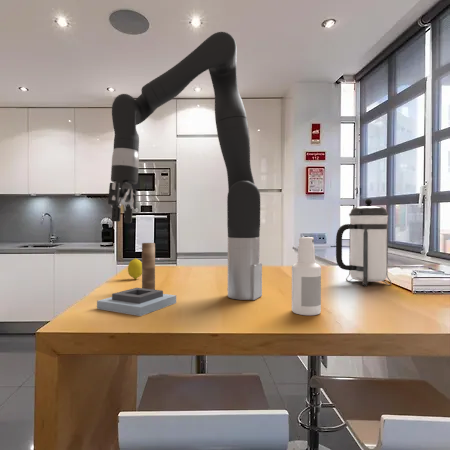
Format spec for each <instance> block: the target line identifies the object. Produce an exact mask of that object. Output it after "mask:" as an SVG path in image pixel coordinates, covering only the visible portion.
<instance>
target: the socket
mask: <svg viewBox="0 0 450 450" xmlns="http://www.w3.org/2000/svg"><path fill="white" fill-rule="evenodd" d="M176 303H177V295H175V294H170V293H169V294H168V293H164V291H163V290H160V289H159V290H158V289H155V290H153V289H144V288H142V287H133V288H130V289H125V290H122V291H119V292H115V293H111V296H110V297H106V298H104V299H99V300H97V301H96V309H97V310H102V311H108V312H113V313H120V314H127V315H132V316H138V317H142V316H145V315H148V314H150V313H153V312H156V311H158V310H161V309H163V308H166V307H169V306H171V305H172V306H173V305H174V304H176Z"/></svg>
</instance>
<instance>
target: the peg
mask: <svg viewBox="0 0 450 450" xmlns="http://www.w3.org/2000/svg"><path fill="white" fill-rule="evenodd" d="M141 262H142V274H141V288H144V289H153V290H156V243H155V242H142V243H141Z"/></svg>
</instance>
